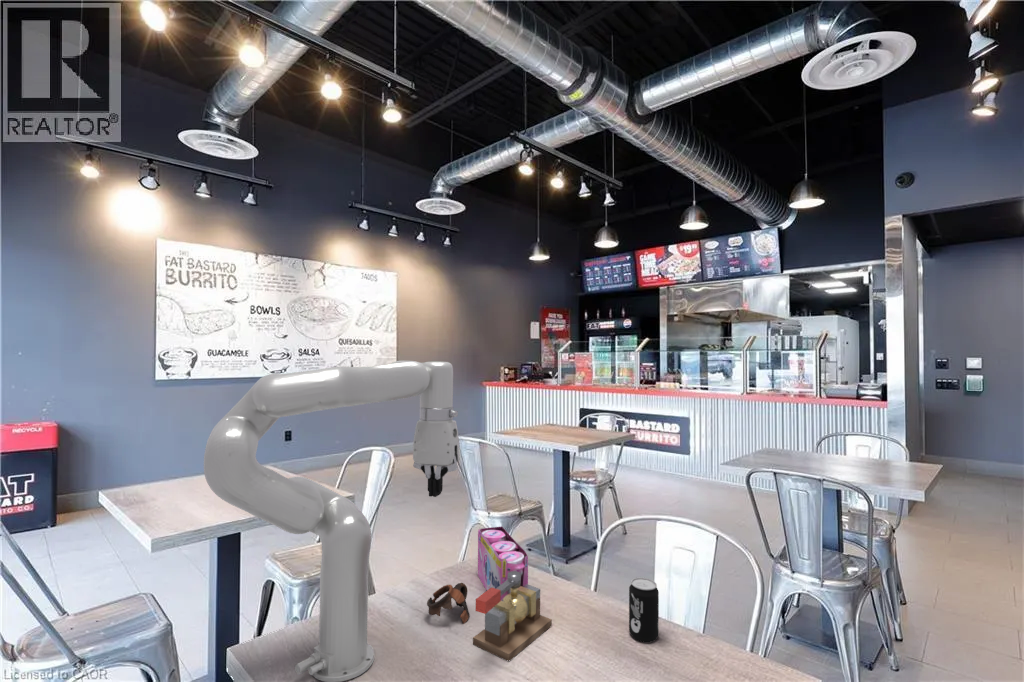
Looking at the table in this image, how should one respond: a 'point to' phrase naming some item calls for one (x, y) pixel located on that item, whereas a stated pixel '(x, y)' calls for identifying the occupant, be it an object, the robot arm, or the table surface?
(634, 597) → the beverage can
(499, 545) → the gum box
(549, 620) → the valve board
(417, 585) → the table surface
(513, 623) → the ball valve
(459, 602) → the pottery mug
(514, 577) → the lever
